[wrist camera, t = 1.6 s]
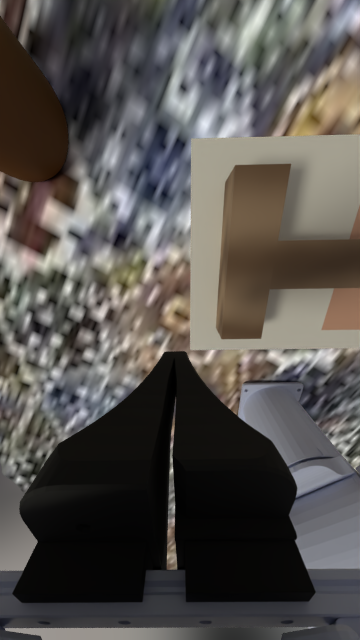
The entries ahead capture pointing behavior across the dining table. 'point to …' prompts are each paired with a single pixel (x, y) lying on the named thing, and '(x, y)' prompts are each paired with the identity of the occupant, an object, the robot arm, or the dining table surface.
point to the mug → (28, 116)
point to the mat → (297, 224)
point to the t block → (269, 252)
